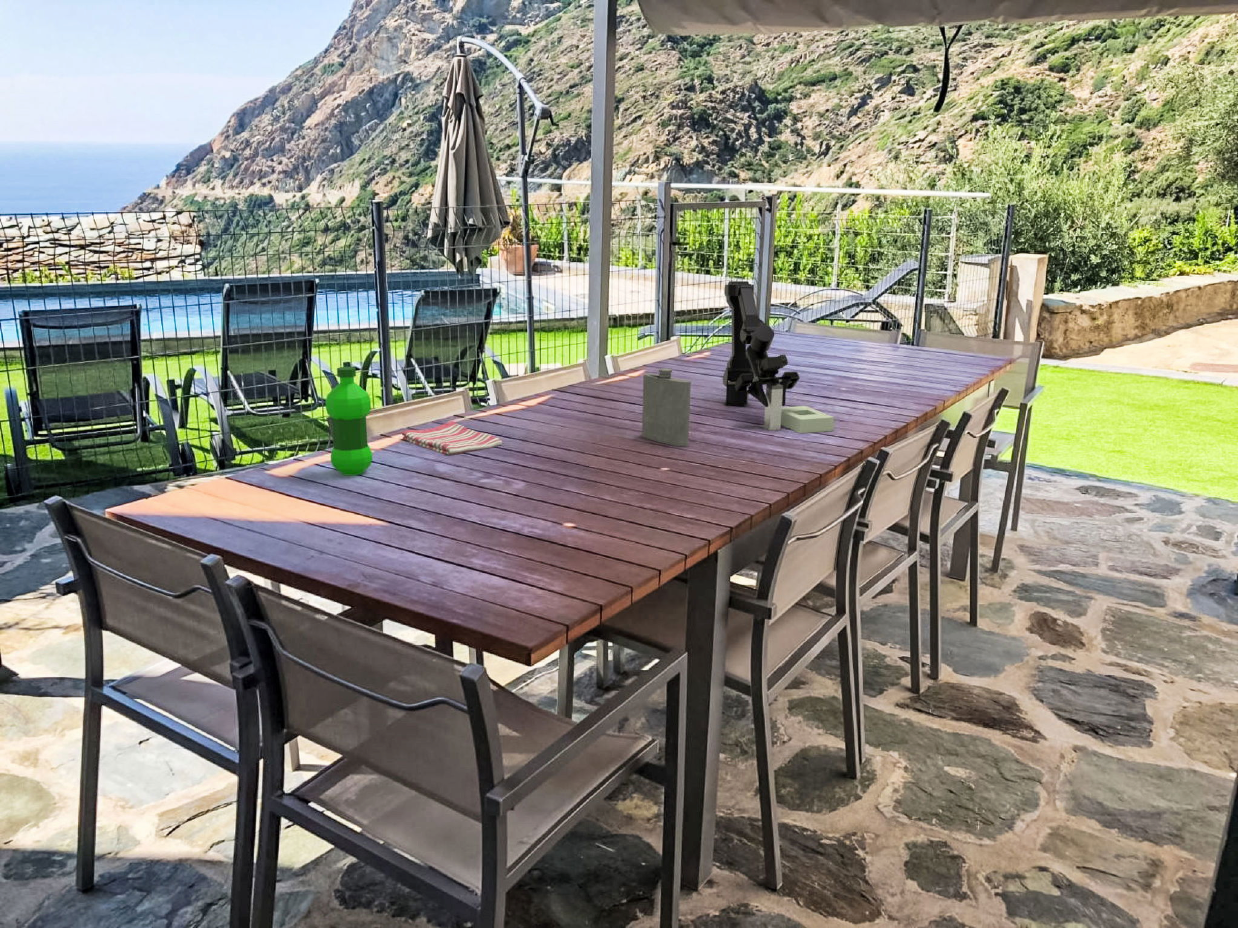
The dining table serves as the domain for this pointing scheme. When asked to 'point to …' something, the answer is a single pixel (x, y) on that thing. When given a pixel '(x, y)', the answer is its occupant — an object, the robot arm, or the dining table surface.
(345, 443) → the plastic bottle
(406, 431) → the dish towel
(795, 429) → the post foot
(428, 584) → the dining table surface
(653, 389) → the hip flask
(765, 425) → the pale grey square post
